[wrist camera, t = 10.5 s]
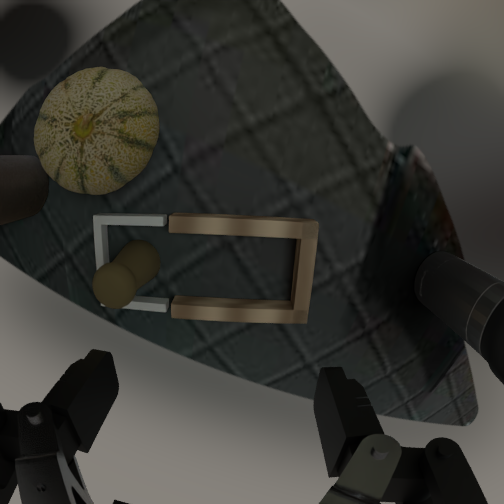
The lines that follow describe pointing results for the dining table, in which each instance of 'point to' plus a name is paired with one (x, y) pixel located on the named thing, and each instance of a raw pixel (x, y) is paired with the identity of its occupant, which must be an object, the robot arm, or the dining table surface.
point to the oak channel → (252, 308)
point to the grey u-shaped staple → (103, 251)
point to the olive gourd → (126, 274)
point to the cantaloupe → (96, 130)
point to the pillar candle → (21, 187)
